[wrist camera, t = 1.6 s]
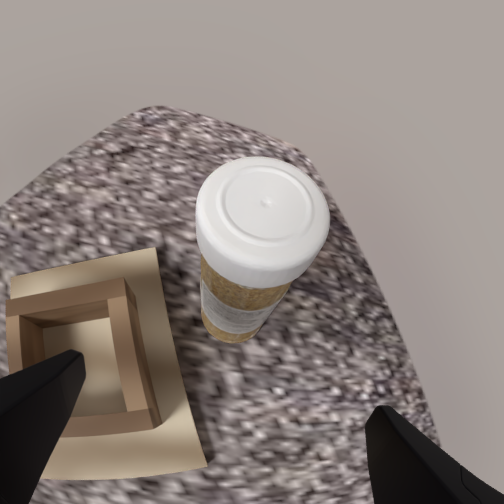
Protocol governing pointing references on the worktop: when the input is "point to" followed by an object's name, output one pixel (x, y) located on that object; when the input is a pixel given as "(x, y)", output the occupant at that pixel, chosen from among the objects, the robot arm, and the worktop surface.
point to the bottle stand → (108, 366)
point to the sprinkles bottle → (254, 241)
